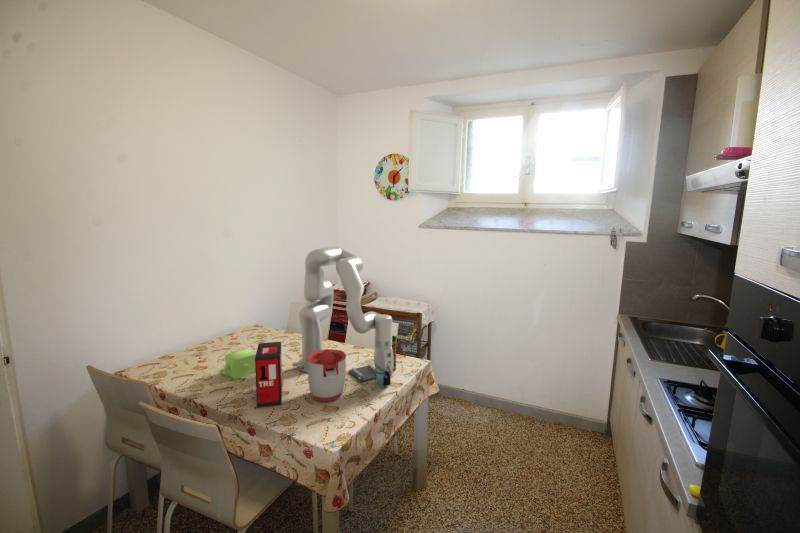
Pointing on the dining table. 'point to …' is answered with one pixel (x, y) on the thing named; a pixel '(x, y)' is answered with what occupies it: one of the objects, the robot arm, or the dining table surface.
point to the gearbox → (239, 363)
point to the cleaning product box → (268, 374)
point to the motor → (394, 350)
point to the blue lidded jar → (380, 377)
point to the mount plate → (364, 373)
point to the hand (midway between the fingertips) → (382, 381)
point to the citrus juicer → (326, 374)
